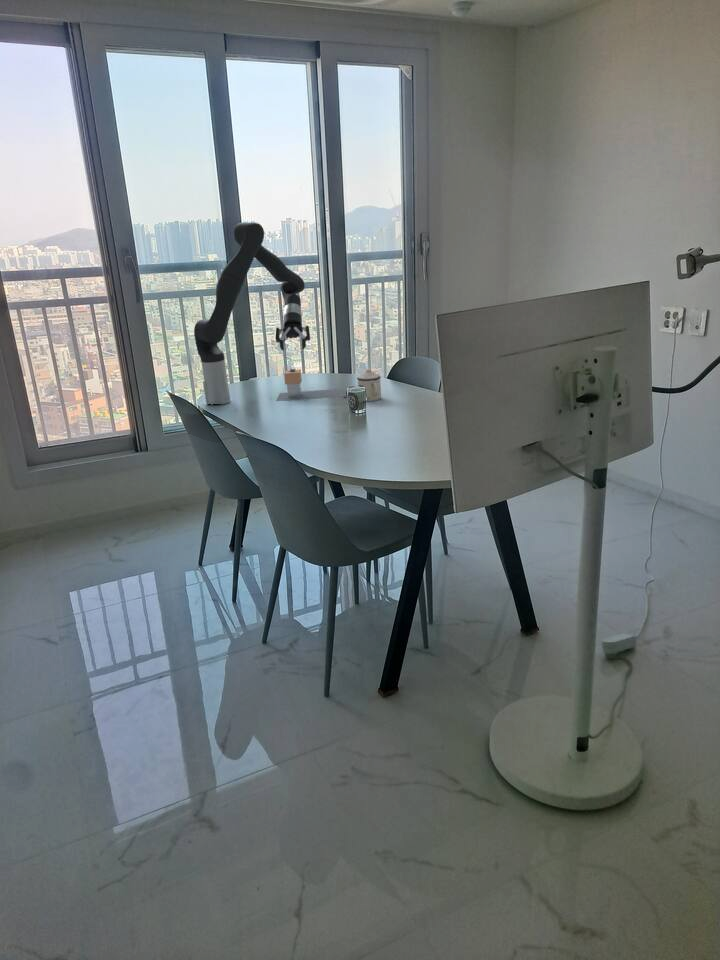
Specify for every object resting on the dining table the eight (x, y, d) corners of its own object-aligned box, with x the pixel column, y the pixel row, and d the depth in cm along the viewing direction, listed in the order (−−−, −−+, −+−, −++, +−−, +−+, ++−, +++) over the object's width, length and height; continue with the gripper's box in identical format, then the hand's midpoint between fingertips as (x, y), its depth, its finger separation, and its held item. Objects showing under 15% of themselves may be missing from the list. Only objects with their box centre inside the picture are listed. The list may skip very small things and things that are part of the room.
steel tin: (288, 397, 266) (285, 375, 262) (289, 394, 270) (287, 373, 267) (300, 396, 265) (298, 374, 262) (301, 393, 270) (299, 372, 267)
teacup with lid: (355, 398, 259) (353, 369, 255) (376, 394, 262) (374, 365, 258) (366, 404, 249) (364, 374, 244) (388, 401, 251) (386, 370, 247)
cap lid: (285, 384, 263) (283, 371, 261) (286, 381, 269) (285, 368, 267) (300, 383, 263) (299, 370, 261) (301, 380, 269) (300, 367, 267)
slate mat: (276, 402, 262) (275, 401, 261) (280, 394, 275) (279, 392, 275) (346, 397, 261) (346, 396, 261) (346, 389, 274) (346, 388, 274)
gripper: (274, 312, 275) (274, 344, 269) (308, 310, 275) (309, 342, 268) (277, 323, 282) (277, 355, 275) (310, 321, 282) (311, 352, 275)
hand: (293, 348), depth 272 cm, fingers open, 8 cm apart
